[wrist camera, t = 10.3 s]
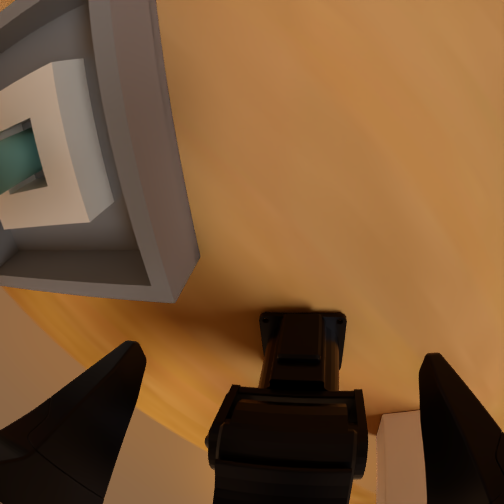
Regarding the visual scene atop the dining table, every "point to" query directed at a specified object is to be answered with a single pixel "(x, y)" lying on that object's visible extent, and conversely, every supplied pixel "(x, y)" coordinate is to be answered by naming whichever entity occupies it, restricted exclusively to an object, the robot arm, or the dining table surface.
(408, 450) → the milk
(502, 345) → the dining table surface
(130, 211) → the box
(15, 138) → the peg
